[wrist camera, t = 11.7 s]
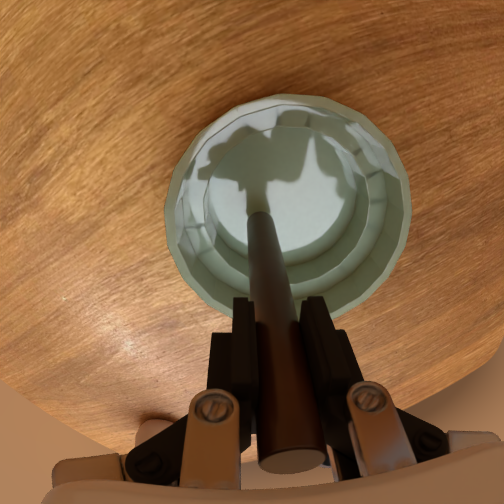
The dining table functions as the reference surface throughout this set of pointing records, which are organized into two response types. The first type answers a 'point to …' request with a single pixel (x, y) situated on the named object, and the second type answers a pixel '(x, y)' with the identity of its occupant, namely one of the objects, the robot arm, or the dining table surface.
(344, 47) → the dining table surface
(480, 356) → the dining table surface
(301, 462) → the stirring stick
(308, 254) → the bowl
